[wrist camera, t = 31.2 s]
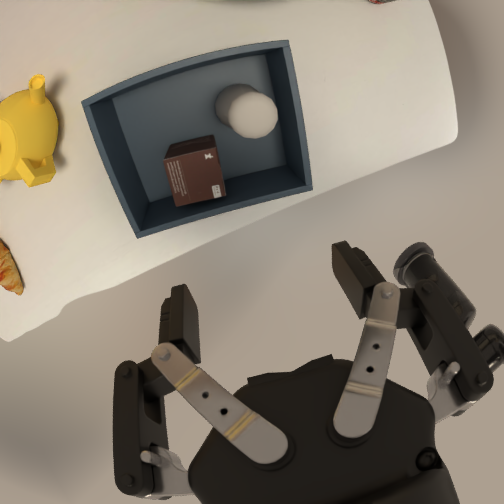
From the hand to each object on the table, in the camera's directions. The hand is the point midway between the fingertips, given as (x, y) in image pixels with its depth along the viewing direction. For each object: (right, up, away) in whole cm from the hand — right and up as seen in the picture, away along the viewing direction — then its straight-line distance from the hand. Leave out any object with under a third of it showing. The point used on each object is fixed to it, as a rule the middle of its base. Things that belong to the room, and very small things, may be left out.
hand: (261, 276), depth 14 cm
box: (-8, +14, +20) cm, 26 cm away
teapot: (-32, +19, +12) cm, 40 cm away
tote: (-7, +18, +18) cm, 26 cm away
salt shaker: (-2, +20, +17) cm, 26 cm away
